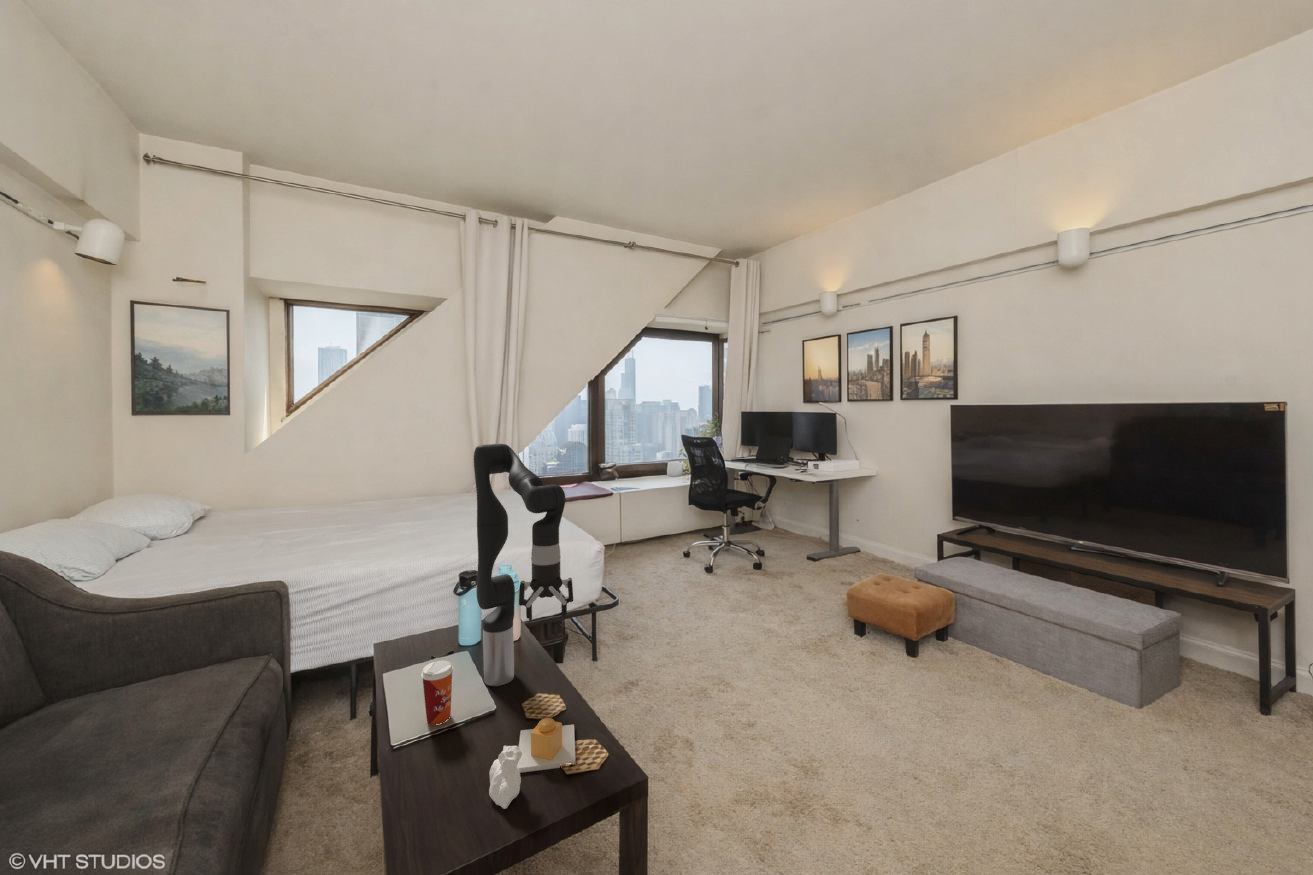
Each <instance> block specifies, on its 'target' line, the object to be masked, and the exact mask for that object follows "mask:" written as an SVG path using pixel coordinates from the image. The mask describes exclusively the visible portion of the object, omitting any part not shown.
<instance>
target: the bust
mask: <svg viewBox="0 0 1313 875" xmlns="http://www.w3.org/2000/svg"><path fill="white" fill-rule="evenodd" d="M502 748H503V749H502V751H501V752H500V753H499V754H498V756H497V757H498V758H497V759H495V760H494V761H493V763H492V765H491V767H490V769H489V772H488V773H489V784H490V786H489V790H488V795H489V797H490V798H491V800H492V801H493V802H494V803H495V805H496V806H500V807H501V809H503V810H505V809H508V807H509V805H510V804H511V802H512V801H513V800H514V799H516V798H517V797H518V795H519V793H520V789H521V782H522V778H521V773H520V770H519V768H518V767H517V764H518V762H519V760H520V758H521V756H522V752H521V751H520V749H519V745H503V747H502Z"/></svg>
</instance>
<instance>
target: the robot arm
mask: <svg viewBox="0 0 1313 875" xmlns="http://www.w3.org/2000/svg"><path fill="white" fill-rule="evenodd" d="M473 469H474V470H473V471H474V479H475V489H476V490H475V492H476V537H477V575H476V601H477V604H478V607H479V608H480V609H481V610H490V609H494V608H495V609H494V610H492V611H491V612H489V613H488V614H487V615H486V616H485V617H484V618H483V620H482V641H483V642H482V644H483V647H482V648H483V652H482V653H483V682H484V683H485V685H487V686H491V687H500V686H503V685H506V684H509V683H510V682H512V681H513V680H514V678H515V652H514V651H515V648H514V647H515V646H514V641H515V640H514V639H515V638H514V618H515V602H516V599H515V598H516V588H515V582H514V579H513V577H512V576H511V575H510V574H501V575H496V576H493V570H494V566H495V563H496V560H497V558H498V556H499V554H500V553H501V551H502V549H503V548H504V546H505V544H506V542H507V540H508V536H509V515H508V512H507V510H506V508H505V507H504V505H503V504H502V502H501V501H500V499H499V498H498V497H497V496H496V494H495V493H494V490H493V488H492V483H491V477H490V475H494V474H495V475H496V474H497V475H498V474H503V473H508V483H509V486H510V487H511V488H512V490H513V491H514V492H516V493H517V494H518V495H519V496H520V497H521V499H522V501H523V503H524V506H525V508H526V510H527V511H528V512H530V513H533V514H543V513H545V516H544V517H542V518H541V519H538V520H537V521H535V522H533V524H532V527H531V528H532V529H531V530H532V531H531V535H532V536H531V539H532V540H531V542H532V545H531V557H530V559H531V561H530V562H531V580H530V581H525V580H521V581H520V584H519V595H518V605H519V606H523V607H525V610H526V612H525V613H526V619H527V620H528V621H530V622H531V621H533V603H534V602H535V601H536V600H537V598H540V599H543V598H553V597H554V596H555V598H556V599H557V600H558V601H559V602H560V604H561V608H560V609H561V619H564V618H565V616H567V614H568V613H567V612H568V611H567V610H568V609H567V606H568V604H569V603H572V602H574V593H573V592H574V590H573V588H574V587H573V578H572V577H568V578H567V579H562V578H561V546H560V526H561V521H562V517H563V514H564V513H563V512H564V510H565V505H566V493H565V490H564V489H563V487H562V486H560V485H559V484H547V485H545V484H544V482H543V479H541V477H539V476H538V475H537V474H535V473H534V472H533V471H531V470H530V469H529V468H528V467H527V466H525V464H524V463H523V462H522V460H521V458H519V456H518V455H517V454H516V452H515V451H514V450H513V449H512V448H511V447H510V446H509V445H507V444H506V443H492V444H490V443H487V444H486V443H485V444H480V445H477V446H476V447H475V449H474V451H473ZM563 585H564V587H565V588H566V589H567V592H568V596H565V595H564V594H563V592H562V590H561V587H562V586H563ZM528 588H531V590H532V592H531V594H530V596H529V597H528V598H527V599H526V598H525V591H527V590H528Z"/></svg>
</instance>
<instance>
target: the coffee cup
mask: <svg viewBox="0 0 1313 875" xmlns="http://www.w3.org/2000/svg"><path fill="white" fill-rule="evenodd" d="M453 672H454V667H453V665H452V663H451V662H450V661H448V660H437V661H434V662H433V661H432V662H430V663H428V664H426V665H425V666H424V667H423V669H422V672H421V674H420V676H421V678H422V685H423V695H424V706H425V715H426V723H427V724H428V725H429V724H430V725H429V726H432V725H436V724H440V723H443V722H445V721H446V720H447V719H449V717H450V718H451V714H452V712H451V711H452V710H451V709H452V692H453V691H452V689H453V688H452V684H453ZM449 720H450V719H449ZM445 723H446V722H445Z"/></svg>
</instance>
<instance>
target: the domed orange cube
mask: <svg viewBox="0 0 1313 875" xmlns="http://www.w3.org/2000/svg"><path fill="white" fill-rule="evenodd" d="M562 726H563V723H562V722H559V721H555V720H554V719H553V718H551V717H550V718H549V717H546V718H541V720H539V722H538V723H537V725H536V726H535V727H534V728H533V729H534V730H533V731H532V732H531V756H534V757H538V758H542V759H547V760H551V761H552V759H553V758H554V756H555V755H556V754H557V752H558V751H559V749H560V748H561V746H562Z"/></svg>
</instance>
